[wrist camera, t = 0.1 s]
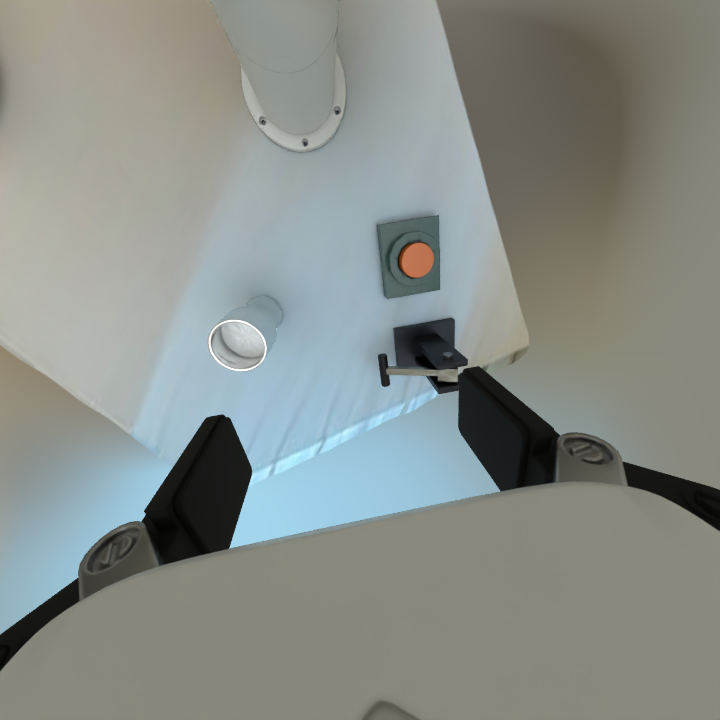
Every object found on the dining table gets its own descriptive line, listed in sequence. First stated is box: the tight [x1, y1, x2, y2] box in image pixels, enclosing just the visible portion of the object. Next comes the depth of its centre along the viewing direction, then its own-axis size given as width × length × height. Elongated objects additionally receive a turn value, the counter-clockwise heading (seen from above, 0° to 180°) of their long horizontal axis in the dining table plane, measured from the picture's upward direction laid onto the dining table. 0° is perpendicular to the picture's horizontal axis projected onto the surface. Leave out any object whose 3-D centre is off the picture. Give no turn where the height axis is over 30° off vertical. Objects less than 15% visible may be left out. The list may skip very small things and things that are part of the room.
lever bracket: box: [393, 318, 468, 394], centre depth 45 cm, size 11×9×13 cm
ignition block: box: [377, 215, 440, 299], centre depth 42 cm, size 11×9×4 cm
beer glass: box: [208, 296, 283, 372], centre depth 38 cm, size 7×7×15 cm
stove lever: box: [378, 354, 458, 387], centre depth 42 cm, size 12×6×2 cm, turn 99°
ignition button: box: [399, 243, 434, 278], centre depth 40 cm, size 5×5×2 cm
